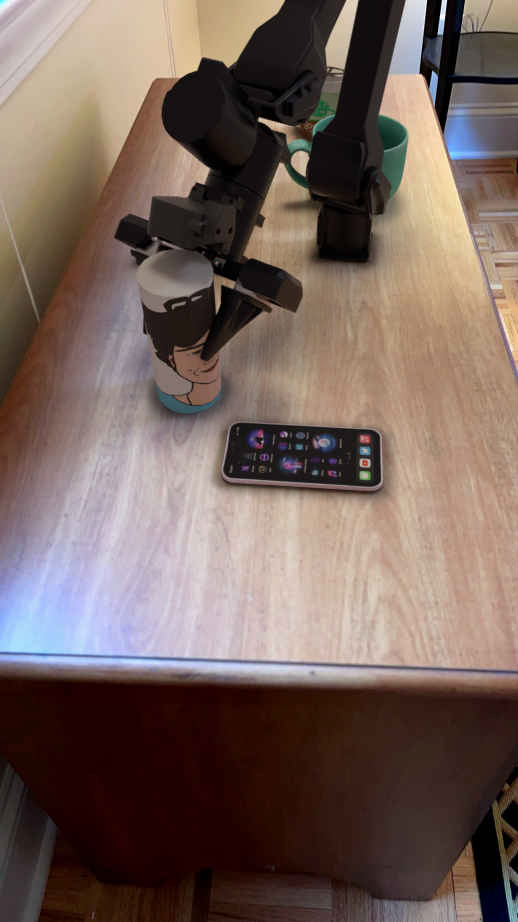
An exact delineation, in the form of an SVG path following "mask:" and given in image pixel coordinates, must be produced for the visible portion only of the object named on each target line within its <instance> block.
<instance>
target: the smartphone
mask: <svg viewBox="0 0 518 922" xmlns="http://www.w3.org/2000/svg"><path fill="white" fill-rule="evenodd" d="M383 468H384V467H383V436H382V434H381V433H380V432H379V431H378V430H376V429H373V428H363V427H347V426H346V427H345V426H327V425H308V424H294V423H293V424H292V423H291V424H290V423H276V422H275V423H273V422H256V421H255V422H253V421H236V422H233V423H232V424H231V425H230V426H229V428H228V430H227V438H226V443H225V449H224V454H223V459H222V465H221V476H222V478H223V479H224V480H225V481H226V482H228V483H233V484H249V485H250V484H251V485H265V486H279V487H282V486H283V487H297V488H298V487H299V488H312V489H313V488H314V489H329V490H330V489H332V490H345V491H346V490H348V491H360V492H361V491H362V492H363V491H364V492H374V491H375V492H376V491H378V490H379V489H381V487H383V486H382V485H383V484H384V483H383V482H384V476H383V475H384V473H383V471H384V469H383Z"/></svg>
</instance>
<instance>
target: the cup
mask: <svg viewBox="0 0 518 922" xmlns="http://www.w3.org/2000/svg"><path fill="white" fill-rule="evenodd" d="M214 276H215V275H214V274H213V268H212V265H211V263H210V261H209V260H208V259H206V258H205V257H204V256H203V255H201V254H199V253H196V252H194V251H189V250H181V249H172V250H167V251H161V252H159V253H156V254H154V255H151V256H150V257H149V258H147V259H146V260H144V261H143V262H142V264H141V265H140V266H139V267H138V268H137V272H136V281H137V285H138V291H139V297H140V303H141V308H142V309H141V310H142V313H143V314H144V320H145V326H146V331H147V335H146V337H147V341H148V342H147V343H148V347H149V354H150V358H151V359H150V360H151V364H152V369H153V370H152V371H153V375H154V376H153V377H154V380H155V386H156V392H157V396H158V400H159V402H160V403H161V404H162V405H163V406H164V407H165V408H166V409H168V410H170V411H171V412H175V413H178V414H180V415H181V414H183V415H184V414H185V415H187V414H189V415H193V414H197V413H201V412H204V411H206V410H208V409H210V408H212V407H213V406H214V405H215V404H216V403H217V402H218V401H219V398H220V397H221V395H222V374H221V362H220V361H221V359H220V350H219V351H218V352H217V353H216V354H215V355H214V356H213V357H212V358H211V359H210V360H209V361H208V362H207V361H203V360H201V359H200V356H201V353H202V349H203V346H204V343H205V341H206V338H207V336H208V333H209V331H210V329H211V326H212V324H213V321H214V319H215V317H216V314H217V306H216V291H215V278H214Z"/></svg>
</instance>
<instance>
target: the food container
mask: <svg viewBox="0 0 518 922" xmlns="http://www.w3.org/2000/svg"><path fill="white" fill-rule="evenodd" d="M343 73H344V68H340V67H335V66H331V65H330V66H329V65H328V66H327V77H326V80H325V82H324V85H323V88H322V92H321V97H320V101H319V104H318V106H317V108H316V110H315V112H314V113H313V114H312V115H311V117H310V118H309V119H308V121H307V122H306V123H305V124H302V123H301V124H300V125H298V131H299V134H300V135H301V136H302V137H303V138H304V139H306V140H307V141H311V142H312V131H313V128H314V126H315V125H316V124H317V123H318V122H319V121H321V120H322V119H324V118H326V117H328V116H331V115H335V111H336V107H337V102H338V97H339V92H340V87H341V82H342V78H343Z"/></svg>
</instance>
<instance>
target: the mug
mask: <svg viewBox="0 0 518 922" xmlns="http://www.w3.org/2000/svg"><path fill="white" fill-rule="evenodd" d="M333 117H334V115H331V116H328V117H326V118H324V119H322V120H321V121H319V122H318V123H317V124H316V125H315V126H314V128H313V131H312V138H313V136H314V135H315V133H316V132H317V131H323V129H324V128H325V127H326V126H327V125H328V123H329V122H330V121H331V120H332V119H333ZM377 126H378V130H379V133H380V137H381V141H382V145H383V148H384V156H383V162H382V167H381V170H382V172H383V173H384V175H385V176H386V178H387V179H388V181H389V182H390V184H391V185H392V189H391V193H390V199H389V200H388V201H390V200H391V199H392V198H393V197H394V196H395V194H397V192H398V190H399V188H400V186H401V183H402V180H403V175H404V172H405V171H404V170H405V165H406V159H407V152H408V144H409V130H408V129H407V128H406V126H405V125H404V124H403V123H402V122H401V121H398V120H397V119H396V118H395V119H394V118H392V117H390V116H388V115H384V114H381V113H379V116H378V121H377ZM287 145H288V148H289V150H290V152H291V159H292V158H293V157H294V155H295V154H296V153H298V152H304V153H306V154H307V156H308V158H309V157H310V153H311V147H312V143H310V142H309V141H308V140H305V139H300V138H299V139H294V140H292V141H290V142H289V143H287ZM283 165H284V168H285V170H286V172H287V174H288V176H289V177H290V178H291V179H292V181H293V182H294V183H296V184H297V185H298V186H299V187H302V188H304V189H306V190H309V189H308V184H307V179H306V175H303V174H301V173H300V172H299V171H298V170H296V169H295V167H294V166H293V164H292V161H291V162H290V164H289V165H286V164H283Z"/></svg>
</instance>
